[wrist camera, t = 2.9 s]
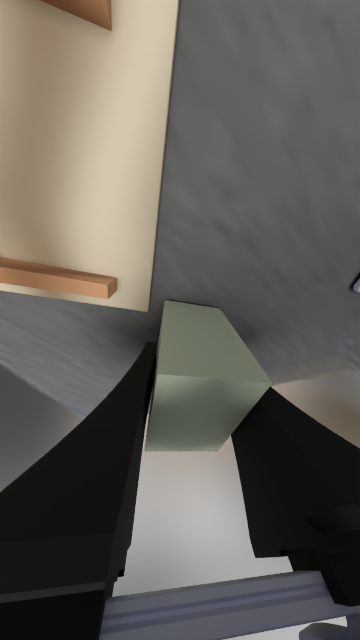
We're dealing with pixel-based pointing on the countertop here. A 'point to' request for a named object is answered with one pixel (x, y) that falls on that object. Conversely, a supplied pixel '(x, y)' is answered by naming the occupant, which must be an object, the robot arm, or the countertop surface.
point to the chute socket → (83, 146)
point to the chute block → (200, 380)
